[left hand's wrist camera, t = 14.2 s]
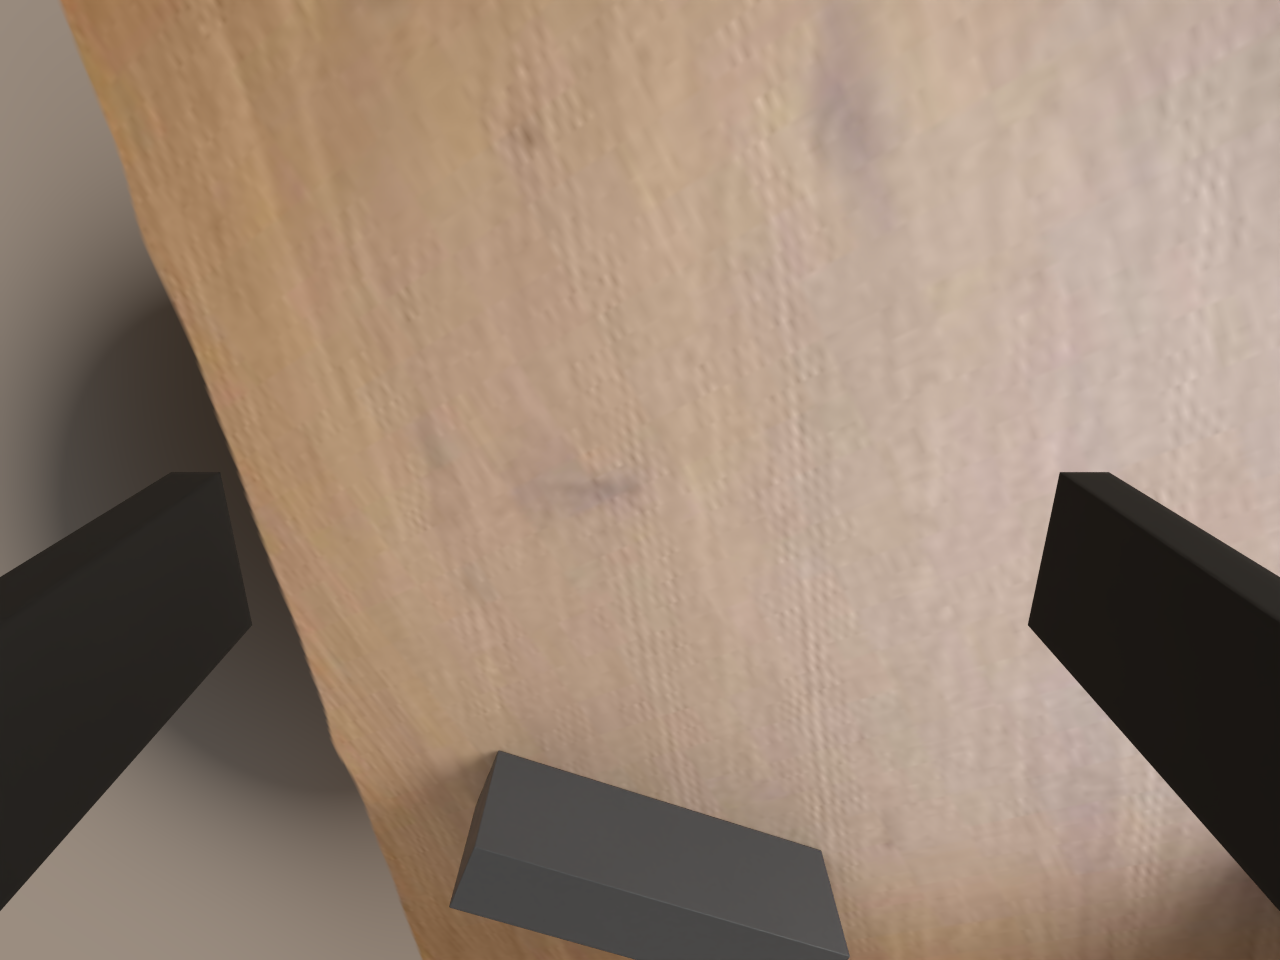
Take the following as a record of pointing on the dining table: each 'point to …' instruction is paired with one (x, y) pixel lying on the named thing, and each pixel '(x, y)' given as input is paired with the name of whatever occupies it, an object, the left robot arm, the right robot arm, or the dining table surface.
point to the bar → (639, 873)
